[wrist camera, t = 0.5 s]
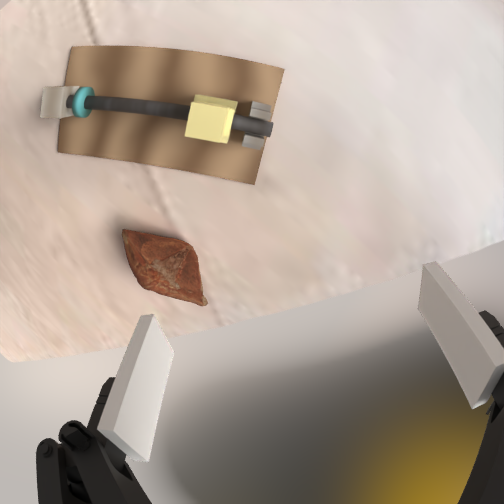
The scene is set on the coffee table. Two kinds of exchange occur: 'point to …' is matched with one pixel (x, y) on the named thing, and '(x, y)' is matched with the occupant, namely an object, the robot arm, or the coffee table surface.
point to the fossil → (164, 266)
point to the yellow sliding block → (210, 118)
